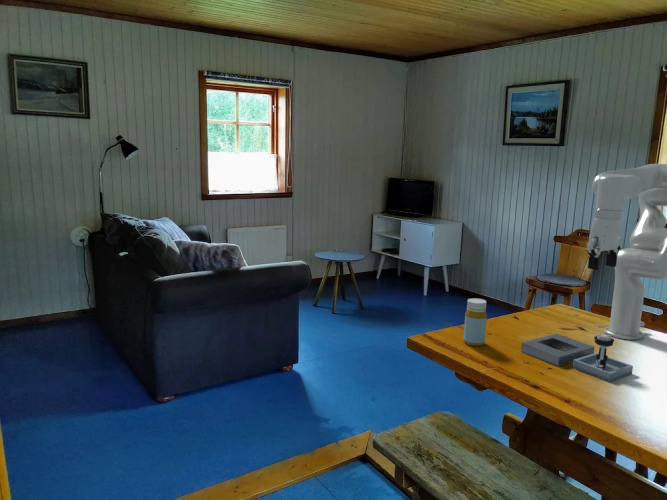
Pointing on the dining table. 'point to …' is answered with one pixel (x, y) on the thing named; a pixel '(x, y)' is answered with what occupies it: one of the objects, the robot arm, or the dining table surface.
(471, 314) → the bottle
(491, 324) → the dining table surface
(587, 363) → the tray
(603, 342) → the push button
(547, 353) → the block
